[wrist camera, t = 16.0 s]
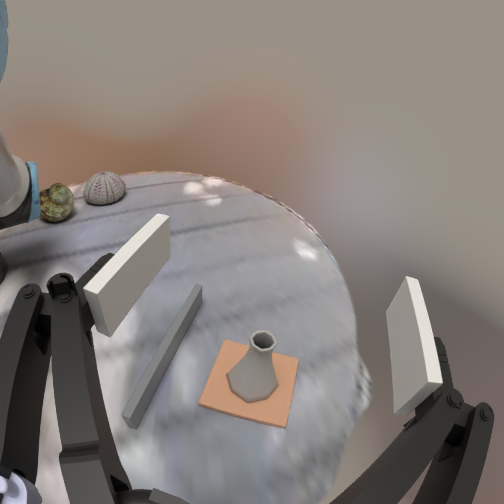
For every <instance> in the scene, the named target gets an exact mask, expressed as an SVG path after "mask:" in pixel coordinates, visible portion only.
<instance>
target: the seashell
mask: <svg viewBox="0 0 504 504" xmlns="http://www.w3.org/2000/svg"><path fill="white" fill-rule="evenodd" d="M39 199H40V207H41V214H40V216H41V217H42V218H43V219H45V220H48V221H52V222H57V221H60V220H64V219H65V218H67V216H68V215H69V214H70V213H71V211H72V209H73V204H74V198H73V194H72V192H71V190H70V189H69V188H68V187H67V186H65V185H63V184H61V183H56V184H54V185H52V186H51V187H50V188H49V189H46V190H42V191H41V192H40V193H39Z"/></svg>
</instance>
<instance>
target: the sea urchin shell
mask: <svg viewBox="0 0 504 504" xmlns="http://www.w3.org/2000/svg"><path fill="white" fill-rule="evenodd" d="M125 185H126V184H125V182H123V180H122V179H121V178H120V176H118V175H117V174H115V173H112V172H107V171H105V172H100V173H97V174H95V175H93V176H92V177H91V178H90V179H89V181H88V182H87V184H86V186H85V188H84V191H83V192H84V193H83V194H84V198H85V199H86V201H88V203H93V204H99V205H100V204H101V205H103V204H104V205H105V204H106V203H108V204H110V203H112V202H113V201H117V200H118V199H119V198H121V196H123V193H124V191H125V188H126V186H125Z"/></svg>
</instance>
